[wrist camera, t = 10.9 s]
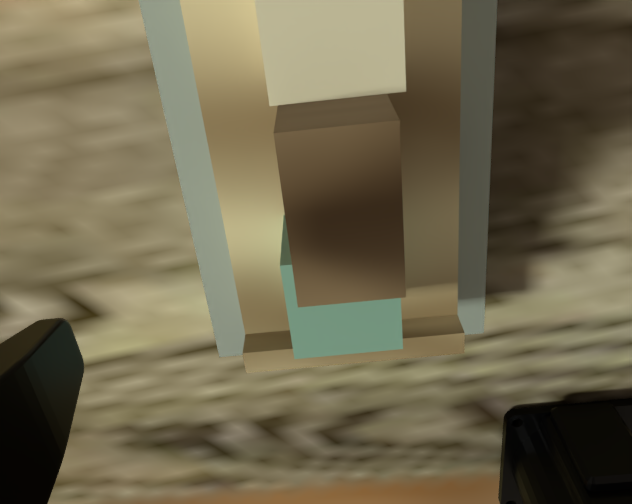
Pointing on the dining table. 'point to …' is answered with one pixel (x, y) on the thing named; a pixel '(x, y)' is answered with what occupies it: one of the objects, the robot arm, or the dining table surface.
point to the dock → (200, 185)
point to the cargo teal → (338, 321)
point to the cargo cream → (331, 48)
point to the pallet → (262, 185)
